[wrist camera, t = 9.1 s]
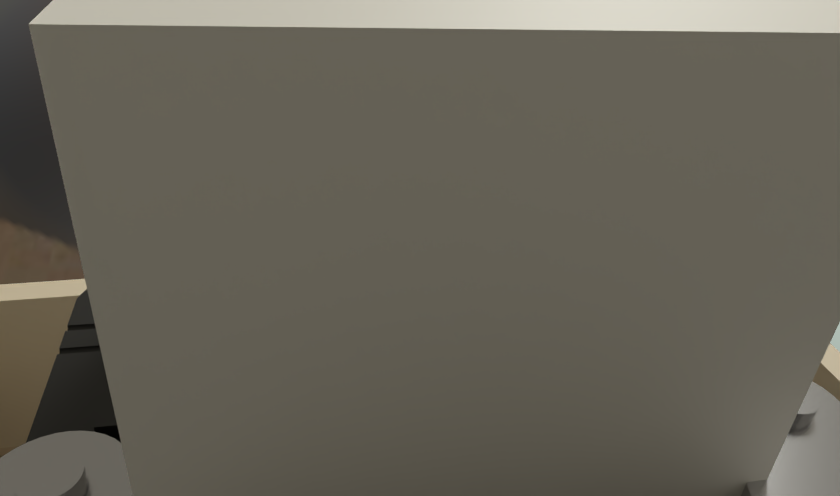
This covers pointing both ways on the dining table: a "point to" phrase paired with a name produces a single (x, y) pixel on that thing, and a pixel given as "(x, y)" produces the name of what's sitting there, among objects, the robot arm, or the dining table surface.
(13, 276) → the dining table surface
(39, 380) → the storage bin
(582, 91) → the box
